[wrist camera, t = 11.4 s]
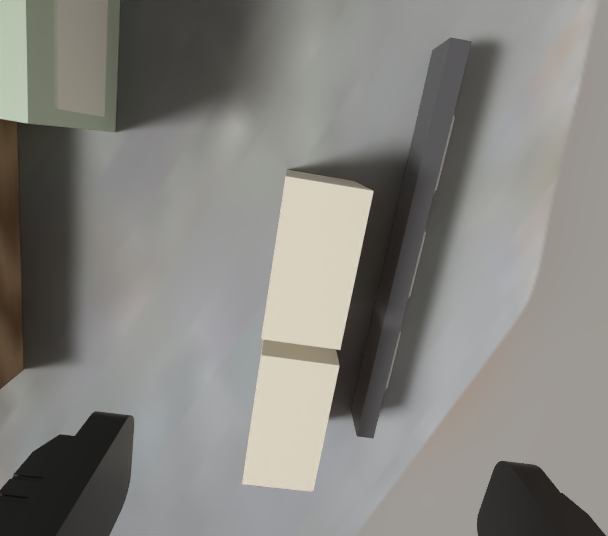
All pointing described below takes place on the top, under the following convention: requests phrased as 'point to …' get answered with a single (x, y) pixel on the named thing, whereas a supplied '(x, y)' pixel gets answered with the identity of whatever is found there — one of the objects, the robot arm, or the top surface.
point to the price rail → (409, 228)
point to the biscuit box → (315, 259)
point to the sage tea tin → (59, 62)
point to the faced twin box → (290, 415)
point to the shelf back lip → (10, 256)
